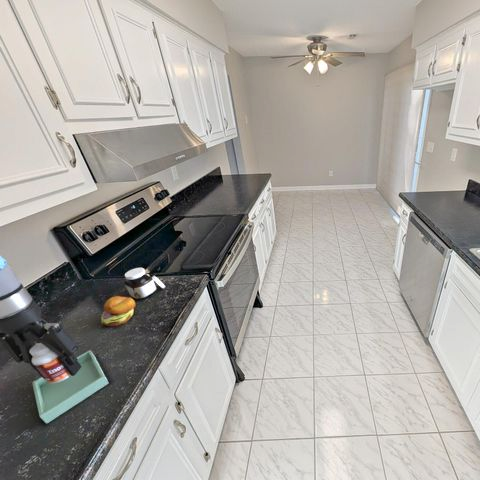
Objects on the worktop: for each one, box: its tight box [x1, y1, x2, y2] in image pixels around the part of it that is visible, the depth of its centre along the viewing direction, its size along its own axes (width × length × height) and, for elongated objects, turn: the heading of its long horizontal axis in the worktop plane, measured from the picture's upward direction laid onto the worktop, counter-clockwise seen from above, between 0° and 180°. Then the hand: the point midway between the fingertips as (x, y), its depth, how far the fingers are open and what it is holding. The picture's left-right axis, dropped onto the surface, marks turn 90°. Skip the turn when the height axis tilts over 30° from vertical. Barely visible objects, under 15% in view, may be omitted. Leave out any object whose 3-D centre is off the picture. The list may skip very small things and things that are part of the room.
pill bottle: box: [29, 343, 71, 384], centre depth 67 cm, size 6×6×11 cm
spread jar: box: [124, 267, 167, 301], centre depth 108 cm, size 12×11×12 cm
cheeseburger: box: [100, 295, 137, 327], centre depth 95 cm, size 10×11×10 cm
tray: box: [32, 349, 110, 425], centre depth 72 cm, size 15×13×3 cm
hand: (63, 373), depth 70 cm, fingers closed on pill bottle, 6 cm apart
